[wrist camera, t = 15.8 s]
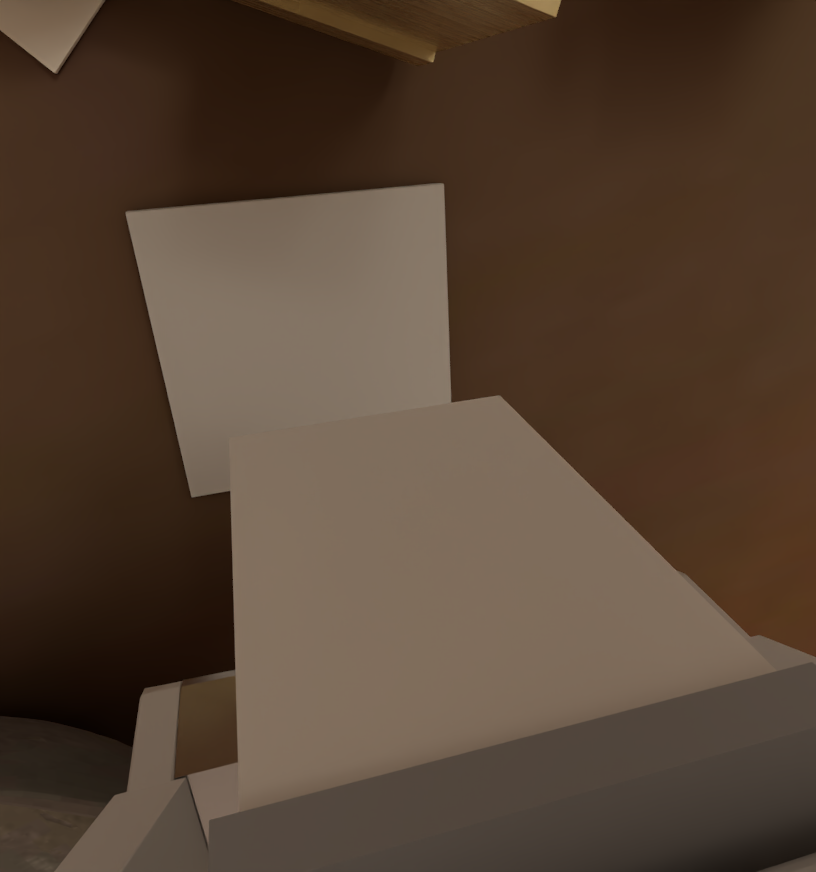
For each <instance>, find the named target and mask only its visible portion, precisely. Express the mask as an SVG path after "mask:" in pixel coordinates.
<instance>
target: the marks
mask: <svg viewBox="0 0 816 872" xmlns="http://www.w3.org/2000/svg"><path fill="white" fill-rule="evenodd" d="M104 2H105V0H0V30H1V31H2V32H3V33H4V34H6V35H7V36H8V37H9V38H11V39H12V40H13V41H14V42H16V43H17V44H18V45H19V46H21V47H22V48H23V49H25V50H26V51H27V52H28V53H30V54H31V55H32V56H33V57H35V58H36V59H37V60H38V61H40V62H41V63H42V64H43V65H45V66H46V67H47V68H48V69H50V70H51V71H52V72H54V73H55V74H57V73H58V71H59V70H60V68H61V67H62V65H63V64H64V62H65V61H66V59H67V58H68V56H69V55H70V53H71V52H72V50H73V49H74V47H75V46H76V44H77V43H78V41H79V39H80V38H81V36H82V35H83V33H84V32H85V30H86V29H87V27H88V26H89V24H90V23H91V21H92V20H93V18H94V17H95V15H96V14H97V12H98V11H99V9H100V8H101V6H102V5H103V3H104Z"/></svg>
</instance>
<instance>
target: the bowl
mask: <svg viewBox="0 0 816 872" xmlns="http://www.w3.org/2000/svg"><path fill="white" fill-rule="evenodd" d="M132 751H133V748H132V747H130V746H128V745H126V744H124V743H122V742H119V741H117V740H114V739H111V738H108V737H105V736H101V735H98V734H95V733H93V732H89V731H86V730H82V729H78V728H74V727H70V726H67V725H62V724H58V723H54V722H49V721H43V720H36V719H29V718H17V717H4V716H0V872H54V871H55V870H56V869H57V867H58V866H59V865H60V864H61V862H62V861H63V860H64V859H65V857H66V856H67V855H68V854H69V852H70V851H71V850H72V848H73V847H74V846H75V845H76V843H77V842H78V841H79V840H80V838H81V837H82V836H83V835H84V833H85V832H86V831H87V829H88V828H89V827H90V826H91V824H92V823H93V822H94V821H95V819H96V818H97V817H98V816H99V814H100V813H101V812H102V811H103V809H104V808H105V807H106V805H107V804H108V803H109V802H110V800H111V799H112V798H113V797H114V795H117V794H121V793H125V792H127V786H128V779H129V772H130V765H131V758H132Z"/></svg>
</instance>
